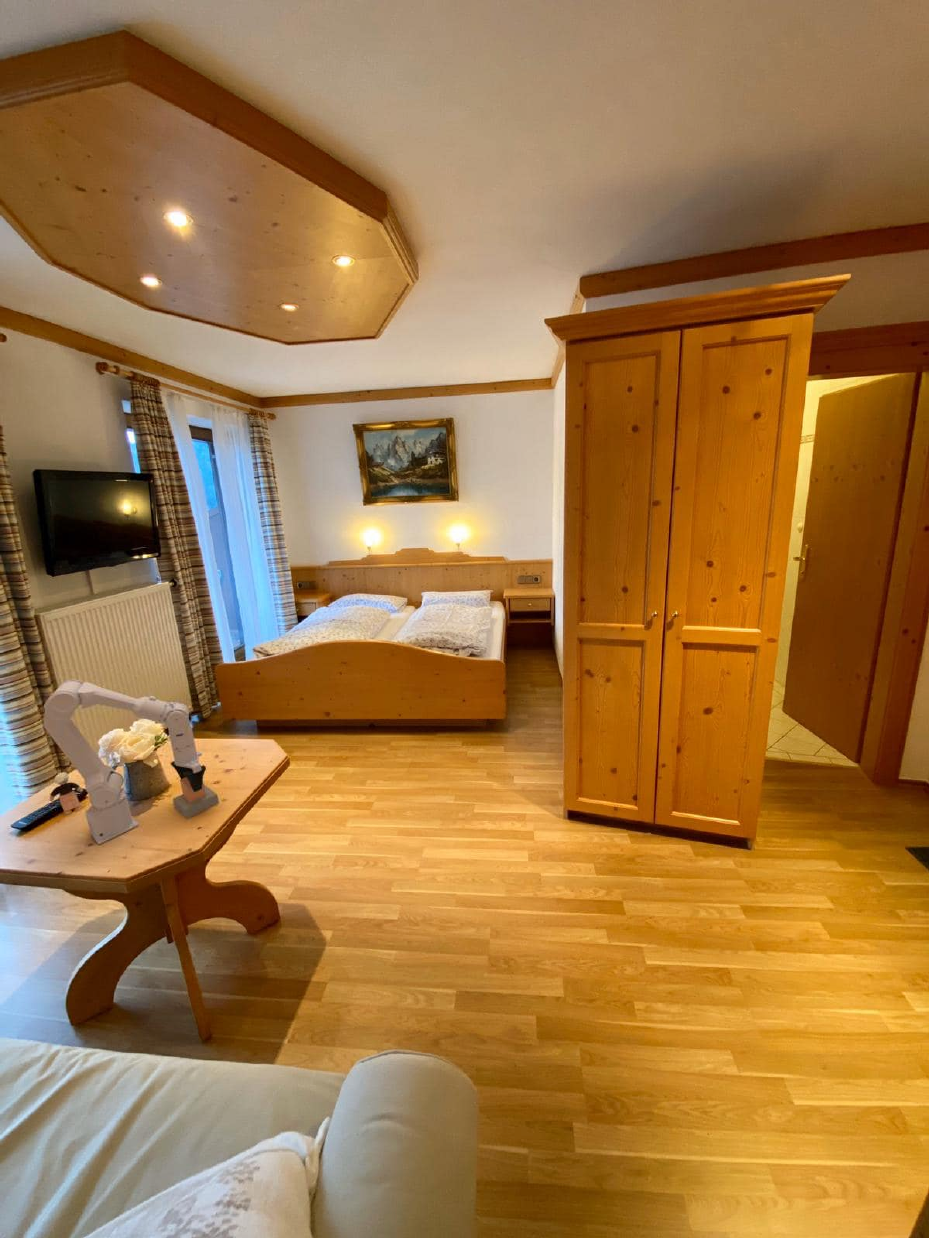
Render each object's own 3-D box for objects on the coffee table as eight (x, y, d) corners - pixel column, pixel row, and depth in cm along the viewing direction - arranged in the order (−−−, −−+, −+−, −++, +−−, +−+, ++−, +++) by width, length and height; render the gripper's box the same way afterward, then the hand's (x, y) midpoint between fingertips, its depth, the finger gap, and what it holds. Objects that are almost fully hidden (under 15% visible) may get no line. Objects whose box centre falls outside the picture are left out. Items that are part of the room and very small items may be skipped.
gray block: (187, 818, 136) (185, 809, 135) (174, 807, 141) (172, 798, 141) (219, 802, 143) (217, 794, 142) (205, 792, 148) (204, 784, 147)
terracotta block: (190, 802, 138) (186, 784, 137) (183, 797, 141) (179, 779, 139) (206, 795, 142) (202, 777, 140) (199, 790, 144) (195, 772, 143)
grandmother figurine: (85, 801, 147) (74, 765, 144) (88, 806, 144) (77, 769, 141) (53, 815, 141) (41, 777, 138) (56, 820, 139) (44, 782, 135)
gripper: (208, 745, 135) (217, 787, 139) (187, 732, 144) (196, 771, 148) (182, 756, 130) (191, 799, 134) (162, 741, 139) (171, 782, 142)
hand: (192, 785), depth 140 cm, fingers open, 7 cm apart
